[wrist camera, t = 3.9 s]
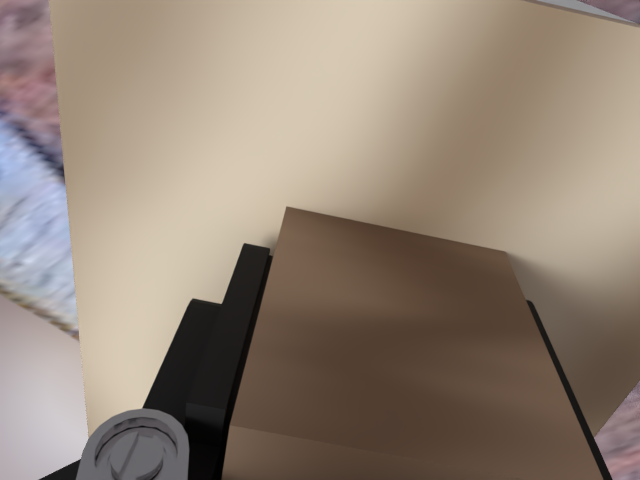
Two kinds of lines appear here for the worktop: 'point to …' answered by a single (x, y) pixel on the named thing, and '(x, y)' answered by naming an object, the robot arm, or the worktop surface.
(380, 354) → the lid
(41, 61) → the worktop surface
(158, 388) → the robot arm
